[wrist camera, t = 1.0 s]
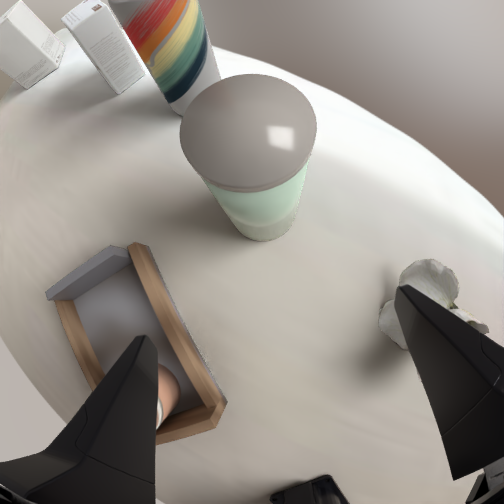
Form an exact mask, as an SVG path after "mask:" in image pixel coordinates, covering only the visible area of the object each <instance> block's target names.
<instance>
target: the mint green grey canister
mask: <svg viewBox="0 0 504 504" xmlns="http://www.w3.org/2000/svg"><path fill="white" fill-rule="evenodd" d="M316 131H317V123H316V117H315V113H314V110H313V108H312V106H311V104H310V102H309V101H308V100H307V98H306V97H305V96H304V95H303V94H302V93H301V92H300V91H299V90H298V89H297V88H295V87H294V86H292V85H291V84H289V83H287V82H285V81H283V80H281V79H278V78H275V77H272V76H267V75H260V74H244V75H237V76H232V77H229V78H225V79H223V80H220V81H218V82H216V83H214V84H212V85H210V86H209V87H207V88H206V89H204V90H203V91H202V92H201V93H199V94H198V95H197V96H196V97H195V98H194V99H193V101H192V102H191V103H190V105H189V106H188V108H187V109H186V111H185V113H184V116H183V118H182V121H181V125H180V143H181V147H182V150H183V152H184V155H185V156H186V158H187V160H188V161H189V163H190V164H191V166H192V167H193V168H194V170H195V171H196V172H197V173H198V174H199V175H200V176H201V178H202V179H203V181H204V182H205V184H206V185H207V186H208V188H209V189H210V191H211V192H212V194H213V195H214V197H215V198H216V199H217V201H218V202H219V204H220V205H221V207H222V208H223V210H224V211H225V212H226V214H227V215H228V217H229V218H230V220H231V221H232V223H233V224H234V225H235V227H236V228H237V229H238V231H239V232H240V233H241V234H243V235H244V236H245V237H247V238H249V239H252V240H256V241H270V240H274V239H276V238H279V237H280V236H282V235H283V234H285V233H286V232H287V231H288V230H289V228H290V227H291V226H292V224H293V222H294V219H295V215H296V211H297V207H298V203H299V199H300V195H301V191H302V187H303V183H304V179H305V175H306V170H307V166H308V162H309V158H310V155H311V152H312V149H313V146H314V142H315V137H316Z"/></svg>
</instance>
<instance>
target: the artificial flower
mask: <svg viewBox="0 0 504 504" xmlns="http://www.w3.org/2000/svg"><path fill="white" fill-rule="evenodd" d="M399 280H400V286H401V285H405V284H409V285H411V286H412V287H414V288H415V289H417V290H419V291H420V292H422V293H423V294H425V295H426V296H428V297H429V298H431V299H433V300H434V301H436V302H437V303H439V304H440V305H442V306H443V307H445V308H446V309H448V310H449V311H451V312H452V313H454V314H455V315H457V316H458V317H460V318H461V319H463V320H464V321H465V322H467V323H468V324H470V325H471V326H473V327H474V328H476V329H477V330H478V331H479V332H481V333H483V334H486V333H489V328H488V326H487V325H485V324H484V323H482V322H480V321H478V320H476V319H475V318H474V317H473V316H472V315H471V314H470V313H469V312H467V311H465V310H463V309H458V307H457V306H456V305H455V304H454V303H453V302H454V300H455V298H457V296H458V292H459V283H458V280H457V277H456V275H455V273H454V272H453V271H452V270H451V269H449V268H448V267H446V266H444V265H443V264H442V263H440V262H438V261H436V260H434V259H423V260H418V261H415V262H414V263H412V264H411V265H410V266H408V267H407V268H406V269H405V270H404V271H403V272H402V274H401V276H400V279H399ZM394 300H395V299H392V300H390V301H387V302H386V304H385V305H384V307H383V309H382V308H381V309H382V311H381V309H380V311H379V314H380V312H381V314H380V317H379V328H380V329H381V330H382V332H383V333H384V334H387V335H388V336H389V337H390V338H392V340H393V341H394V342H396V343H397V344H398V345H399V346H400V347H401V348H402V349H404V350H409V349H408V347H407V344H406V341H405V338H404V335H403V332H402V329H401V326H400V323H399V320H398V317H397V314H396V311H395V308H394ZM417 373H418V371H417ZM418 377H419V380H420V381H421V378H420V376H419V373H418ZM421 382H422V381H421Z"/></svg>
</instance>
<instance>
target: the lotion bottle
mask: <svg viewBox="0 0 504 504" xmlns="http://www.w3.org/2000/svg"><path fill="white" fill-rule="evenodd" d="M108 2H109V5H110V7H111V9H112V10H113V12H114V14H115V15H116V17H117V18H118V20H119V22H120V24H121V25H122V27H123V29H124V30H125V32H126V34H127V35H128V37H129V39H130V40H131V42H132V44H133V45H134V47H135V49H136V50H137V52H138V54H139V55H140V57H141V59H142V60H143V62H144V64H145V65H146V67H147V69H148V70H149V72H150V74H151V75H152V77H153V79H154V80H155V82H156V84H157V85H158V87H159V89H160V90H161V92H162V94H163V95H164V97H165V99H166V100H167V102H168V103H169V105H170V106H171V108H172V109H173V110H174V111H175V112H176V113H177V114H179V115H181V116H184V113H185V111H186V109H187V108H188V106H189V105H190V103H191V102H192V101H193V99H194V98H195V97H196V96H197V95H198V94H199V93H201V92H202V91H203V90H204V89H206V88H207V87H209V86H210V85H212V84H214V83H216V82H218V81H220V80H221V77H220V74H219V70H218V67H217V63H216V60H215V56H214V53H213V49H212V46H211V43H210V39H209V36H208V33H207V30H206V26H205V22H204V19H203V16H202V12H201V9H200V6H199V2H198V0H108Z"/></svg>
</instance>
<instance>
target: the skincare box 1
mask: <svg viewBox="0 0 504 504" xmlns="http://www.w3.org/2000/svg"><path fill="white" fill-rule="evenodd" d="M64 50H65V45H64V44H63V43H62V42H61V41H60V40H59V39H58V38H57V37H56V36H55V35H54V34H53V33H52V32H51V31H50V30H49V29H48V28H47V27H46V26H45V24H44V23H43V22H42V21H41V20H40V19H39V18H38V17H37V16H36V15H35V14H34V13H33V12H32V11H31V10H30V9H29V8H28V7H27V6H26V5H25V3H24V2H23V1H22V0H19V1H18V2H17V3H16V4H14V5H13V6H12V7H11V8H10V9H9V10H8V11H7V12H6V13H5V14H3V15H2V16H1V17H0V69H1V70H2V71H3V72H5V73H6V74H7V75H9V76H10V77H11V78H13V79H14V80H15V81H17V82H18V83H19V84H21V85H22V86H23V87H25V88H26V89H29V88H30V87H31V86H33V85H34V84H35V83H37V82H38V81H39V80H41V79H42V78H44V77H45V76H46V75H48V74H49V73H51V72H52V71H54V70H55V69H57V68H58V67H59V64H60V61H61V58H62V56H63V53H64Z"/></svg>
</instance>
